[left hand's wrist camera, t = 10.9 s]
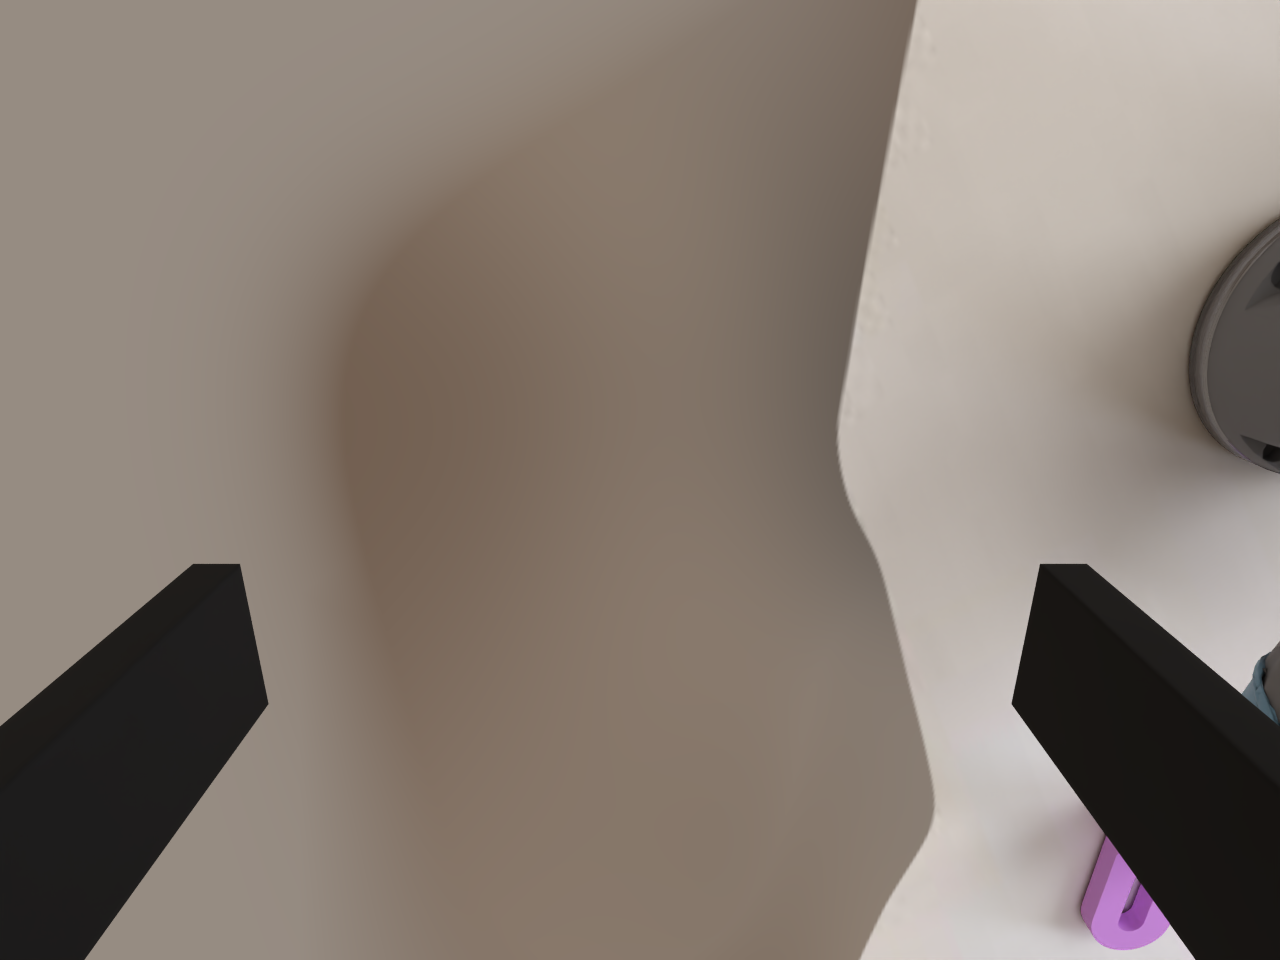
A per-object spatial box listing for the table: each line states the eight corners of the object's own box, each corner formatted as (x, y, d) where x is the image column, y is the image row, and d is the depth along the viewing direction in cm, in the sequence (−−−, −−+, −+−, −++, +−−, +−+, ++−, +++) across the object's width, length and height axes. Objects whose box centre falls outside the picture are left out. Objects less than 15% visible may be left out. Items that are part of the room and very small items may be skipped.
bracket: (1122, 791, 52) (1190, 877, 46) (1202, 795, 53) (1282, 881, 46) (1072, 930, 57) (1128, 1026, 51) (1146, 934, 57) (1211, 1030, 51)
